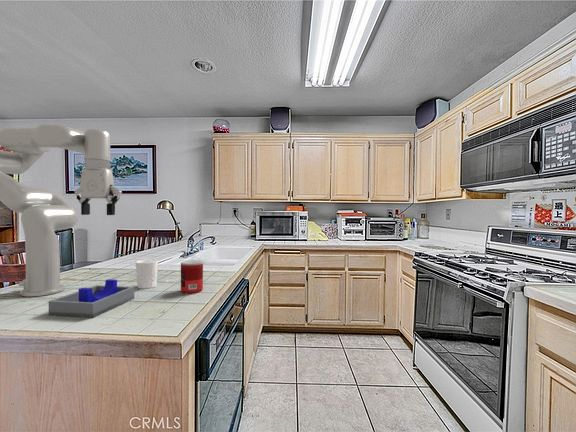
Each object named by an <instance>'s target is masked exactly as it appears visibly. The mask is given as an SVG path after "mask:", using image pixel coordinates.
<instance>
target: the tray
mask: <svg viewBox="0 0 576 432" xmlns="http://www.w3.org/2000/svg"><path fill="white" fill-rule="evenodd" d="M104 287H105V284H104V285H101V284H100V285H99V284H95V285H93V286H91V287H89V288H92V293H93V295H95V294H96V293H97V292H98V291H99V290H101V289H103V288H104ZM134 299H135V286H124V285H123V286H121V285H119V286H118V285H117V293H115V294H112V295H110V296H108V297H105V298H103V299H100V300H98V301H95V302H93V303H92V302H79V290H78V291H75V292H72V293H69V294H65V295H63V296H61V297H57V298H54V299H52V300H48V316H54V315H56V316H55V317H72V318H87V319H94V318H96V317H99V316H100V314H101V315H102V313H103V314H105V313H107V312H109V311H111V310H114V309H115V308H117V307H120V306H122V305H124V304H126V303H128V302H130V301H133V300H134Z"/></svg>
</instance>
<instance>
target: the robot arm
mask: <svg viewBox="0 0 576 432" xmlns="http://www.w3.org/2000/svg"><path fill="white" fill-rule="evenodd" d="M0 147H2V148H3V149H5V150H1V149H0V202H1V203H2V204H3V205H5V207H7V208H8V209H9V210H11V211H12V212H15V213H16V214H17V213H18V214H21V215H20V221H21V225H22V229H23V234H24V242H25V243H24V247H25V250H24V251H25V279H23V280H22V281H19V282H18V286H19V287H23V289H22V290H20V292H19V295H20V296H21V297H42V296H43V297H44V296H49V295H53V294H57V293H61V292H63V291H65V290H66V285H64V284H61V278H60V277H61V275H60V274H61V273H60V272H61V269H60V268H61V267H60V263H61V259H60V257H61V256H60V255H61V254H60V253H61V252H60V251H61V250H60V240H59V237H58V236H57V234H56V232H55V231H61V230H69V229H72V228H73V227H74V226H75V225H76V224H77V222H78V213H77V212H76V210H75V208H73V206H72V205H70V204H69V203H68V202H67V201H65V200H64V199H63V198H61V197H60V196H59V195H58V194H56V193H55V192H54V191H52V190H50V189H47V188H46V189H45V188H38V187H30V186H29V187H27V186H25V185H23V184H22V183H21V182H19V181H18V180H17V179H15V177H13V176H10V175H21V174H24V173H25V172H27V171H28V170H29V169H31V168H32V167H33V165H34V164H35V163H36V162H37V161H39V160H40V158H41V157H42V156H43V155H44V153H48V152H49V151H51V150H52V148H54V149H55V148H57V149H63V150H69V151H71V152H77V153H80V154H84V162H83V163H82V165H83V167H84V169H82V170H81V173H80V182H79V188H77V189H75V190H74V195H75V196H76V199H77V200H78V202H79V204H80V211H81V212H80V215H81V216H86V215H87V216H89V215H90V214H91V204H90V201H91V200H92V199H105V201H106V202H107V203H106V215H107V216H115V214H116V204H117V203H118V201H119V200H120V199H121V198H120V197H122V194H123V192H122V190H120V189H118V187H115V180H114V175H113V170H112V169H111V134H110V133H109V132H108V131H106V130H103V129H97V128H89V129H86V130H85V131H82V130H80V129H77V128H73V127H70V126H66V125H63V124H62V125H61V124H39V125H38V126H35V127H6V128H3V129H1V130H0ZM6 150H7V151H6Z"/></svg>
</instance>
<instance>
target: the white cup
mask: <svg viewBox="0 0 576 432" xmlns="http://www.w3.org/2000/svg"><path fill="white" fill-rule="evenodd" d="M158 266H159V260H157V259H141V260H137V261H135V273H136V275H135V276H136V286H137V289H141V290H142V289H146V290H147V289H151V288H155V287H157V282H158V279H157V278H158Z"/></svg>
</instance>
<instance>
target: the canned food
mask: <svg viewBox="0 0 576 432" xmlns="http://www.w3.org/2000/svg"><path fill="white" fill-rule="evenodd" d="M203 286H204V261H203V260H201V259H189V260H183V261H181V262H180V292H181V293H183V294H188V295H189V294H190V295H192V294H198V293H201V292H202V291H203V289H204V287H203Z"/></svg>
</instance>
